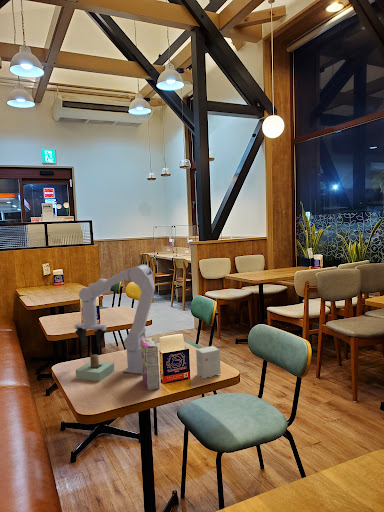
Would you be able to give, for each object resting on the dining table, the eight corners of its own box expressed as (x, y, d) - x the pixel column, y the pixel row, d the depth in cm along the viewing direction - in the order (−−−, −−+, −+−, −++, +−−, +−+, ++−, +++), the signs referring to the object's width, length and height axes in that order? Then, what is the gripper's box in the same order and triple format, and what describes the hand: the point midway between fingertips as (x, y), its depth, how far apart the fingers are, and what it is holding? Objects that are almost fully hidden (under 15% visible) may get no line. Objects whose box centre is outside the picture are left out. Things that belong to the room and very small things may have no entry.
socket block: (114, 370, 158) (113, 362, 158) (100, 381, 148) (99, 372, 148) (91, 368, 162) (91, 360, 161) (76, 378, 151) (75, 370, 151)
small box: (214, 370, 155) (213, 345, 154) (221, 375, 150) (220, 349, 149) (196, 374, 151) (195, 348, 151) (203, 379, 146) (202, 352, 146)
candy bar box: (141, 379, 148) (139, 338, 147) (154, 377, 150) (152, 337, 148) (146, 391, 138) (144, 347, 136) (160, 389, 139) (158, 345, 138)
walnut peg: (100, 373, 156) (99, 354, 155) (96, 376, 153) (95, 357, 152) (93, 373, 157) (92, 354, 156) (89, 376, 153) (88, 356, 153)
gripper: (69, 316, 160) (71, 347, 161) (99, 317, 155) (101, 350, 156) (79, 312, 167) (81, 342, 168) (108, 313, 162) (110, 344, 163)
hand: (91, 345), depth 163 cm, fingers open, 7 cm apart
